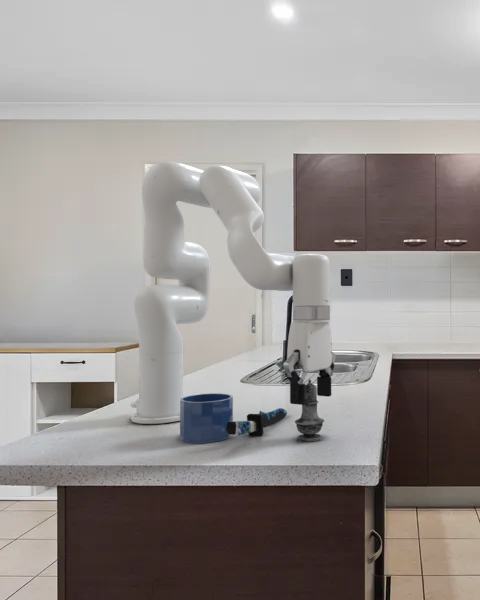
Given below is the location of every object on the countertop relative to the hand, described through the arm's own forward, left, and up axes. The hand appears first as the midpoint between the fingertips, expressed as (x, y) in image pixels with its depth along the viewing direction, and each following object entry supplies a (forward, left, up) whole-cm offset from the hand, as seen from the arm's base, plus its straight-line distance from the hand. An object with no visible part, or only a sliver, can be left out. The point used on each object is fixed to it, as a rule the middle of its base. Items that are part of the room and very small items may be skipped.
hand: (311, 399), depth 105 cm
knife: (-12, 0, -8) cm, 15 cm away
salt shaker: (0, 0, -8) cm, 8 cm away
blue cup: (-20, -8, -8) cm, 23 cm away
